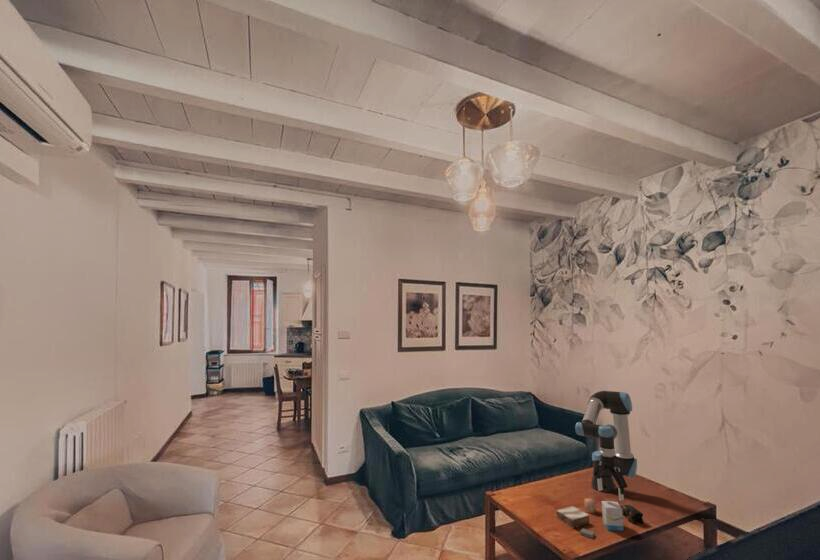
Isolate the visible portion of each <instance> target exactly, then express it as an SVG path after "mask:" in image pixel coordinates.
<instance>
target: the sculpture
mask: <svg viewBox="0 0 820 560" xmlns="http://www.w3.org/2000/svg"><path fill="white" fill-rule="evenodd" d="M620 507H621V508H622V514H623V515H626V517H627V519H626V520H627V521H629V522H631V523H632V524H634V525H635V524H636V522H637V521H638V522H639V523H640V524H644V519H643V516H644V514H643V513H642V512H641V511H640V510H639V509H637V508H636V507H634V506H633V505H630V504H624V505H620Z"/></svg>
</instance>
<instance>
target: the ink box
mask: <svg viewBox="0 0 820 560" xmlns="http://www.w3.org/2000/svg"><path fill="white" fill-rule="evenodd" d="M620 506H621V505H620V504H619V503H618V501H609V500H601V511H602V523H603V524H605V525H604V526H605V528H606V530H608V531H616V532H624V531H625V529H624V518H623V517H624V514H622V508H621V507H620Z"/></svg>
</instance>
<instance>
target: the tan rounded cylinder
mask: <svg viewBox="0 0 820 560" xmlns="http://www.w3.org/2000/svg"><path fill="white" fill-rule="evenodd" d="M596 506H597V505H596V500H595V499H594V498H591V497H587V498H586V497H585V498H584V511H585V510H586V511H587V512H586V511H585V512H586V513H588V512H589V514H596V513H597V507H596Z"/></svg>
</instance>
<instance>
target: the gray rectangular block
mask: <svg viewBox="0 0 820 560" xmlns="http://www.w3.org/2000/svg"><path fill="white" fill-rule="evenodd" d="M595 533H596V532H595V531H592V530H589V529H587V528H581V530H580V531H579V535H581V534H582V535H581V536H583V535H585V536H584V537H586V536H587V537H586V538H589V537H590V539H593V538H594V537H595V536H596V534H595Z"/></svg>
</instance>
